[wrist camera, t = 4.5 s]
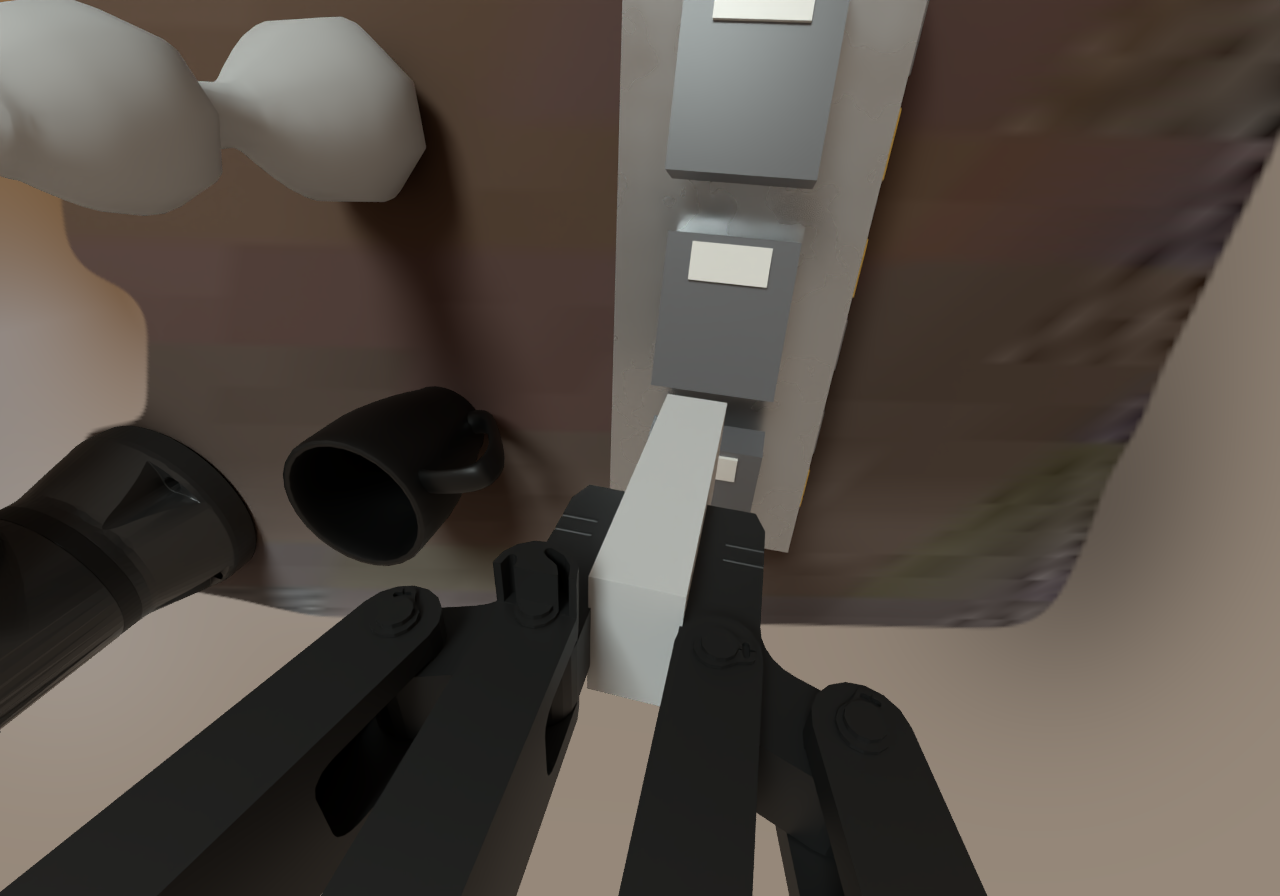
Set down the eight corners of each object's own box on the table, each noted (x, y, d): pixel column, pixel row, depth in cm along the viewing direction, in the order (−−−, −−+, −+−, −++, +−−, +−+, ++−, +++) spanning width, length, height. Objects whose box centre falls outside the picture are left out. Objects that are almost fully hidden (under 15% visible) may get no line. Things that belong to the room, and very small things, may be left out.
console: (629, 472, 36) (605, 527, 31) (655, -68, 22) (620, -119, 17) (792, 499, 34) (793, 562, 29) (929, -67, 20) (974, -123, 15)
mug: (571, 461, 36) (510, 558, 28) (423, 481, 40) (333, 571, 32) (526, 344, 33) (442, 417, 25) (368, 378, 36) (251, 450, 28)
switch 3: (653, 497, 30) (646, 523, 28) (654, 415, 25) (646, 441, 24) (747, 513, 29) (744, 541, 28) (765, 431, 24) (762, 460, 23)
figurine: (367, 223, 31) (-126, 347, 14) (277, 70, 28) (-490, -4, 11) (475, 163, 28) (14, 230, 11) (388, -15, 25) (-427, -291, 8)
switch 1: (671, 178, 20) (664, 168, 18) (693, -19, 18) (687, -50, 17) (812, 189, 19) (817, 179, 18) (849, -16, 18) (859, -48, 16)
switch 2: (657, 379, 24) (649, 385, 23) (674, 234, 23) (667, 230, 21) (772, 395, 23) (773, 403, 22) (798, 246, 22) (802, 242, 20)
